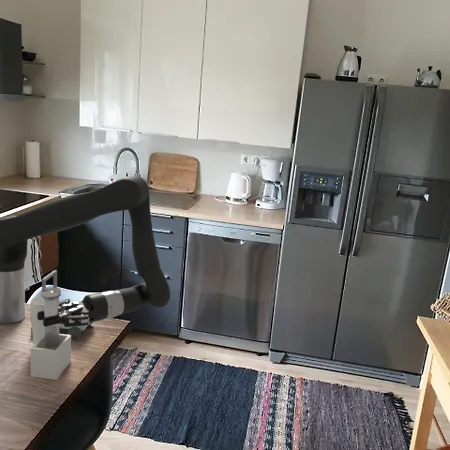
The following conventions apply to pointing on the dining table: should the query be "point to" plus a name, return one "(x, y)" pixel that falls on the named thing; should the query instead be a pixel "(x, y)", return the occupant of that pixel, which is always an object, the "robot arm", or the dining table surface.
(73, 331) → the trolley
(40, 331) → the drinking glass
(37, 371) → the bin
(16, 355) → the dining table surface
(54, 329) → the steel pin
